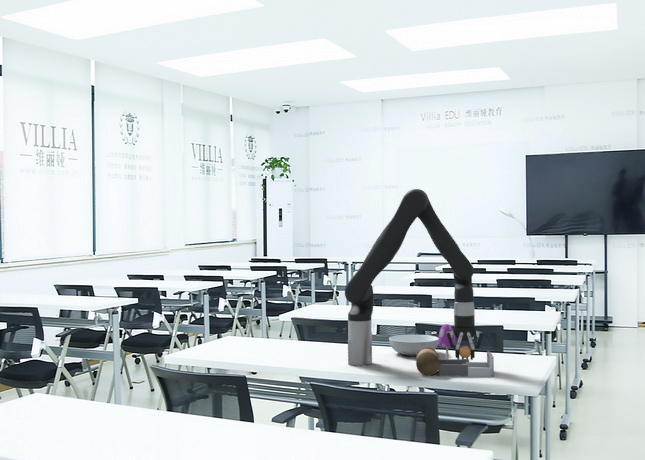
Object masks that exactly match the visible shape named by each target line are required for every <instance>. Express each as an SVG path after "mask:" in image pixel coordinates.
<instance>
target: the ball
mask: <svg viewBox="0 0 645 460" xmlns="http://www.w3.org/2000/svg"><path fill="white" fill-rule="evenodd" d="M470 349H471V347H469V346H467V345H463V346H461V347H459V357H461V358H462V357H463V358H464V359H466V358H468V359H469V357H470V354H471V350H470Z"/></svg>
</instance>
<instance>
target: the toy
mask: <svg viewBox="0 0 645 460" xmlns="http://www.w3.org/2000/svg"><path fill="white" fill-rule="evenodd" d="M453 329H454V328H453V326H451V324H449V323H444V324H442V326H441V327H440V329H439V334H438V346H439V347H442V348H445V359H450V358H449V348H451V346H450V343H449V340H448V337H447V334H446V332H450V331H453ZM451 339H452V342H453V344H454V345H456V342H457V341H456V336H455V334H453V337H451Z"/></svg>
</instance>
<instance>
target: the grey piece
mask: <svg viewBox="0 0 645 460" xmlns="http://www.w3.org/2000/svg"><path fill="white" fill-rule="evenodd" d="M494 357H495V356H494V355H493V353H492V352H491V351H486V362H485V361H481V362H480V361H469V362H466V358H464V359H462V358H459V359H457V358H454V359H453V358H452V359H451V358H449V359H446V358H439V361H440V367H439V370H438V374H439V375H438V376H439V377H440V376H441V377H486V378H487V377H488V378H490V377H493V378H494V376H495V367H494V366H495V365H494V360H495V359H494Z"/></svg>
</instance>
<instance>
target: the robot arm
mask: <svg viewBox="0 0 645 460" xmlns="http://www.w3.org/2000/svg"><path fill="white" fill-rule="evenodd" d="M417 218H418V219H419V220H420V221H421V223H422V225H423V226H424V228H425V229H426V231H427V233H428V235H429V237H430V239H431V240H432V243H433V244H434V246H435V247H436V250H437V251H438V252H439V254H440V255H441V256H442V257H443V258H444V260H446V263H448V265H449V266H450V268H451V270H452V271H453V283H454V284H453V285H454V291H453V292H454V293H453V294H454V304H453V318H454V319H453V321H454V323H453V324H454V326H453V328H452V329H453V331H450V332H446V334H447V337H448V340H449V343H450V346H451V347H450V348H452V349H454V351H455V352H454V354H455V355H454V356H455V359H460V354H459V349H460V345H461V343H462V342H465V341H466V342H469V345H470V350H471V354H470V356H469V357H470V360H471V361H473V360H474V359H475V354H476V353H475V352H476V351H475V350H476V349H480V347H481V344H482V340H483V336H484V333H483V332H482V331H478V330H476V323H475V321H476V320H475V319H476V318H475V316H476V315H475V314H476V313H475V303H474V300H475V298H474V287H473V278H472V277H473V276H474V273H475V270H474V266H473V265H472V263H471V262H470V261H469V259H468V257H466V255H465V254H464V252H462V250H461V248H460V247H459V245H458V243H457V242H456V240H455V238H453V236H452V234H450V232H449V231H448V230H447V228H446V227H445V225H444V224H443V222H442V220H441V219H440V218H439V216H438V215H437V213H436V211H435V209H434V208H433V205H432V203H431V201H430V199H429V197H428V194H427V193H426V192H425V191H424V190H422V189H420V188H414V189H410V190H408V191H407V192H405V194H404V195H403V197H402V199H401V201H400V203H399V206H398V208H397V209H396V212H395V213H394V215H393V217H392V219H391V220H389V222H388V223H387V225H386V226H385V227H384V229H383V230H382V231H381V233H380V234H379V236H378V237H377V239H376V241H374V244H373V245H372V247H371V248H370V251H369V252H368V254H367V255H366V257H365V259H364V260H363V262H362V264H361V265H360V267H359V268H358V270H357V271H356V272H355V274H354V275H353V276H352V278H350V280H349V281H348V283H347V284H346V286H345V288H344V297H345V299H346V300H347V301H348V303H351V308H350V310H349V312H348V314H347V316H348V317H347V325H348V326H347V329H348V331H347V335H348V339H347V364H348V365H351V366H369V365H372V364H373V341H372V340H373V334H372V331H373V329H372V328H373V327H372V326H373V325H372V324H373V323H372V314H373V313H374V288H373V286H372V284H373V282H374V280H375V279H376V278H377V276H378V275H379V274H380V273H381V272H383V270H384V269H385V268H387V267H388V265H389V264H390V263H391V262H392V261H393V259H394V258H395V256H396V255H397V254H398V252H399V250H400V248H401V246H402V245H403V243H404V241H405V237H406V235H407V233H408V231H409V230H410V227H411V226H412V225H413V223H414V222H415V220H416V219H417ZM453 334H455V338H457V339H456V341H455V342H456V343H455V345H454V344H453V342H452V339H451V337H453ZM475 335H476V337H477V340H476V342H475V343H476V344H474V341H473V338H474V336H475Z"/></svg>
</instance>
